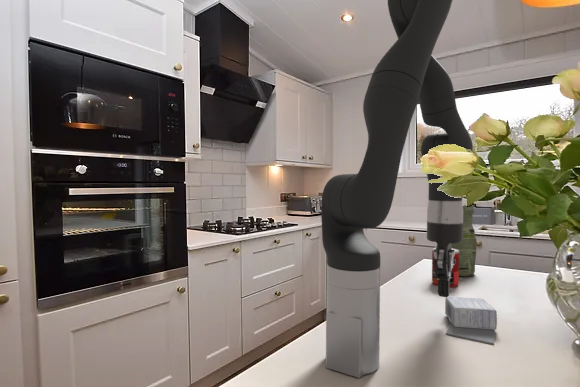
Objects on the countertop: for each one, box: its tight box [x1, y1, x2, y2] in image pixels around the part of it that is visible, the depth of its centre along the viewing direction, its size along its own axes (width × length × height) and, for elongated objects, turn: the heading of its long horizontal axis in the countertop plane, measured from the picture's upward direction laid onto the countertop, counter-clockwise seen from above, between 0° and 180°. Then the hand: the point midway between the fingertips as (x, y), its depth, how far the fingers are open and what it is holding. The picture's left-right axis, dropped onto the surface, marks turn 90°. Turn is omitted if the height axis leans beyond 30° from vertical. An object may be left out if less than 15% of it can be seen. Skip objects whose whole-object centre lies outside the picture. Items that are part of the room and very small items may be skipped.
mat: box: [445, 321, 495, 346], centre depth 76 cm, size 14×9×1 cm, turn 148°
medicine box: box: [444, 296, 498, 330], centre depth 78 cm, size 8×4×9 cm
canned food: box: [431, 247, 460, 288], centre depth 109 cm, size 8×8×11 cm
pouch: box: [451, 204, 478, 277], centre depth 122 cm, size 11×12×25 cm
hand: (443, 295), depth 79 cm, fingers closed
